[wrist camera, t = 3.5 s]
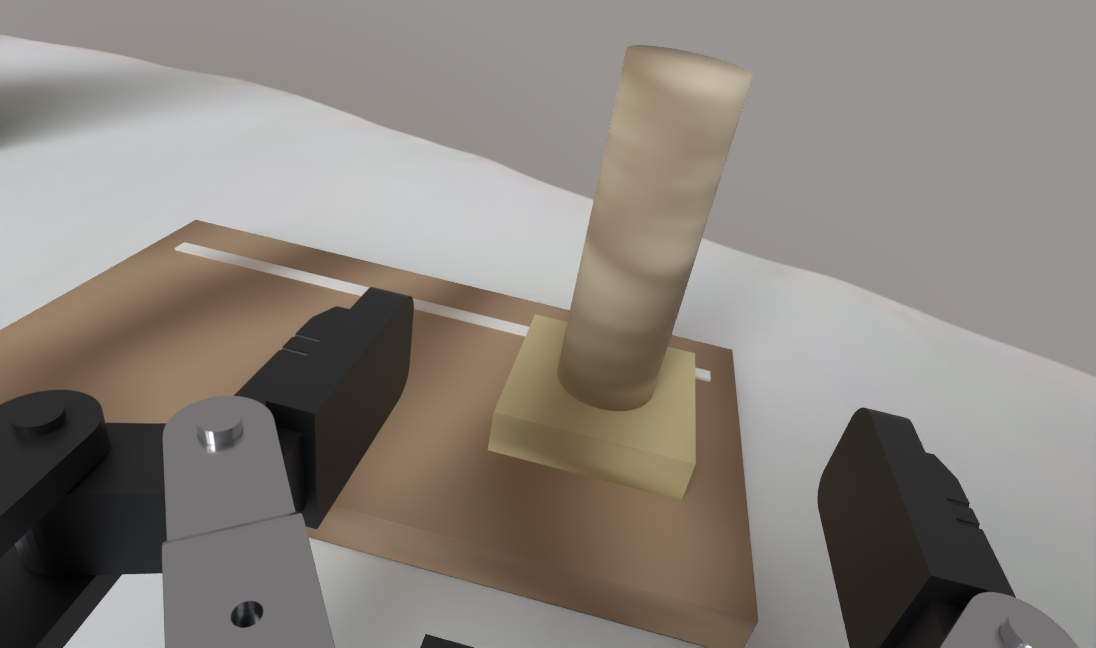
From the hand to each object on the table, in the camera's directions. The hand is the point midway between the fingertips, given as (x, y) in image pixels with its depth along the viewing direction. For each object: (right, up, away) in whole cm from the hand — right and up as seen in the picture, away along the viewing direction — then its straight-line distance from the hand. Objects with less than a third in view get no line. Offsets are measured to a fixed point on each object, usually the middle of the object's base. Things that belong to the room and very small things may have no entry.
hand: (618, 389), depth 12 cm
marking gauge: (0, -2, +11) cm, 11 cm away
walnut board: (-7, -2, +12) cm, 14 cm away
